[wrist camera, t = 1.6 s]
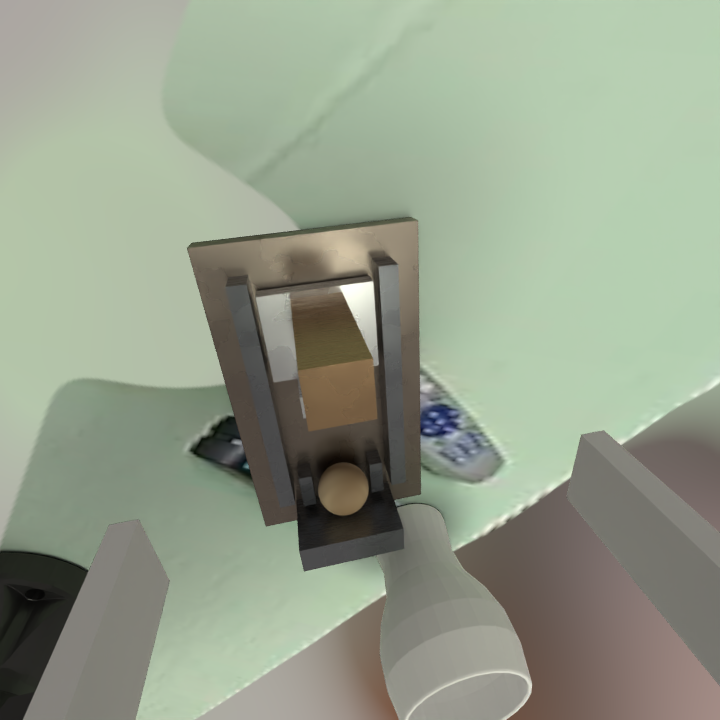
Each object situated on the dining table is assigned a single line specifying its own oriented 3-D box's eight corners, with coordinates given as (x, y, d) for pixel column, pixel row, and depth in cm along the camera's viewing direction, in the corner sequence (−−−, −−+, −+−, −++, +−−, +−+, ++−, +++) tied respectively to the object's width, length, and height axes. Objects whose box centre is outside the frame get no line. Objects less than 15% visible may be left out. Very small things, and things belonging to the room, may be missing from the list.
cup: (334, 543, 40) (363, 736, 27) (409, 475, 38) (481, 650, 25) (404, 576, 45) (458, 754, 32) (476, 518, 42) (566, 684, 29)
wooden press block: (277, 392, 29) (279, 502, 20) (256, 291, 25) (246, 370, 16) (376, 376, 30) (419, 474, 21) (369, 275, 26) (418, 342, 17)
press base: (266, 512, 36) (264, 580, 31) (191, 242, 25) (167, 271, 19) (415, 482, 38) (440, 540, 33) (411, 217, 27) (447, 236, 21)
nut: (319, 492, 34) (324, 531, 31) (312, 457, 33) (317, 494, 29) (364, 483, 35) (375, 520, 31) (361, 447, 33) (371, 483, 30)
